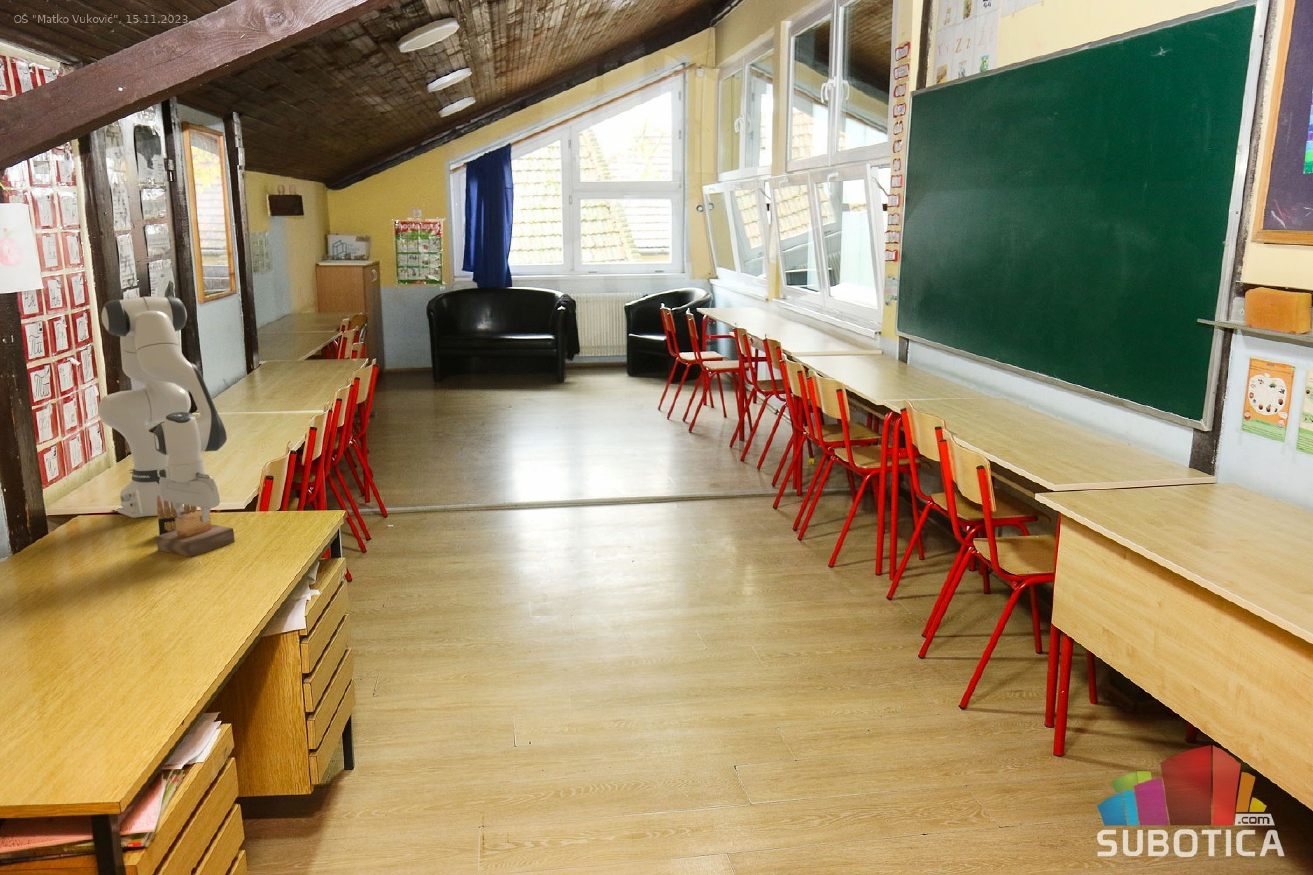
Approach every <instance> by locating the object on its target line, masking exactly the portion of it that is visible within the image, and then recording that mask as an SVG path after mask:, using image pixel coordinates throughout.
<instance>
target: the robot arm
mask: <svg viewBox="0 0 1313 875" xmlns="http://www.w3.org/2000/svg"><path fill="white" fill-rule="evenodd" d="M187 318H188V313H187V309H186V307H185V304H184V303H183V301H182V300H181V299H180V298H179V297H175V296H169V295H168V296H165V297H163V296H142V297H132V298H123V299H118V298H117V299H113V300H109V301H107V302H105V303H104V305H103V307H102V311H101V321H102V322H101V323H102V324H103V327H104V328H105V330H106V332H108V333H109V334H110V335H111V336H115V337H119V338H120V339H119V344H120V355H121V356H120V357H121V368H122V372H123V373H124V375H126V376H127V377H128V378H129V379H132V380H134V381H138V382H141V383H143V384H145V387H144V388H139V389H130V390H123V391H122V390H121V391H117V392H114V393H110V394H107V395H104V396H103V397H102V398H101V400H100V401H99V404H98V409H97V412H98V415H99V418H100V419H101V421H102V422H103V423H104V424H105V425H106V426H108V427H110V428H112V429H114V430H115V431H117V432H118V433H120V434H121V436H122V437H124V439H125V440H126V442H127V443H128V446H129V449H130V453H131V458H132V462H133V469H129V471H130V472H129V474H131V480H130V482H129V483H128V484H126V486H125V487H124V488H122V490H121V491H120V492H119V493H120V494H119V497H120V498H119V499H120V504H121V506H122V507H123V508H118V509H116V510H117V511H118V512H117V513H119V514H122V515H125V516H126V517H129V518H132V519H135V518H136V519H137V518H141V517H142V518H143V517H153V516H158V512H157V497H158V495H159V496H160V499H161V502H162V507H163V510H164V501H168V503H169V507H170V511H171V502H172V503H173V507H174V508H175V510H176V512H177V517H181V516H184V515H186V511H185V510H184V509H183V508H184V504H186V505H190V506H197V507H199V508H200V511H202V515H201V516H199V517H200V521H201V522H207V521H209V513H210V514H211V511H212V508H213V509H214V508H216V507H219V505H220V503H221V500H220V493H219V490H218V486H217V483H216V481H215V480H214V478H213V477H212V476H211V475H210V474H207V473H206V470H205V462H204V457H203V455H202V452H206V453H207V452H217V451H219V450H220V449H221V448H222V447H224V445H225V444H226V442H227V440H228V437H227V436H228V433H227V430H226V427H225V425H224V422H223V421H222V419H221V417H220V415H219V413H218V411H217V409H216V406H215V403H214V401H213V399H212V397H211V395H210V391H209V390H208V387H207V385H206V382H205V380H204V378H203V376H202V373H201V371H200V370H199V368H198V366H197V365H196V364H194V363H193V362H190V361H188V360H187V358H186V357H185V356H184V354H183V353H182V350H181V347H180V343H179V338H178V336H177V332H178V331H181V330H182V329H184V328H185V326H186V324H187V320H188V319H187ZM186 389H187V390H186ZM187 391H189V392H190V394H191V395H192V396H191V397H192V398H193V401H194V403H195V406H196V407H197V410H198V413H199V415H200V417H196V416H195V415H194V414H193V413H191V412H190V410H191V407H192V401H191V397H190V395H189V393H188V392H187ZM158 423H159V424H158ZM150 424H158V425H157V426H156V428H154V430H153V431H152V432H151V431H149V430H148V425H150ZM181 504H182V505H183V507H182V505H181ZM164 515H165V513H164Z"/></svg>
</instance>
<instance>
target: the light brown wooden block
mask: <svg viewBox="0 0 1313 875" xmlns="http://www.w3.org/2000/svg"><path fill="white" fill-rule="evenodd" d="M201 515H202V511H201V510H197V512H194V513H190V514H187V515H184V516H181V517H177V518H175V522H176V530H177V536H182V537H190V536H193V535H196V534H199V533H202V532H205V531H208V530H211V529H212V527H211V524H212V519H211V512H210V513H209V521H207V522H201V521H200V517H199V516H201Z"/></svg>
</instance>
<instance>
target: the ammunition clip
mask: <svg viewBox="0 0 1313 875" xmlns="http://www.w3.org/2000/svg"><path fill="white" fill-rule="evenodd" d="M181 505H182V504H181ZM182 507H183V505H182ZM183 509H184V510H185V511H186V515H187V514H190V513H194V512H197V511H198V508H197V506H191V505H186V504H184V508H183ZM157 512H158V515H157V518H158V519H157V520H158V531H159V532H158V533H159V535H162V534H165V533H168V532H171V531H174V530H176V522H175V518H177V512H176V510H175V508H174V507H173V503H172V502H171V511H170V507H169V503H168V501H164V510H163V507H162V502H161V499H160V496H159V495H158V497H157ZM164 513H165V514H164Z"/></svg>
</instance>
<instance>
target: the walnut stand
mask: <svg viewBox="0 0 1313 875" xmlns="http://www.w3.org/2000/svg"><path fill="white" fill-rule="evenodd" d="M211 527H212V529H211V530H208V531H205V532H202V533H199V534H196V535H193V536H190V537H182V536H177V530H174V531H171V532H168V533H165V534H162V535H160V534H159V535H156V536H155V540H156V547H157V550H158V551H161V552H166V553H170V554H175V555H179V556H185V557H189V558H193V557H196V556H199V555H202V554H204V553H207V552H210V551H213V550H216V549H219V548H221V547H223V546H226V545H229V544H232V543H235V542H236V540H235V532H234V527H229V526H222V525H217V524H212V523H211Z"/></svg>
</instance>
